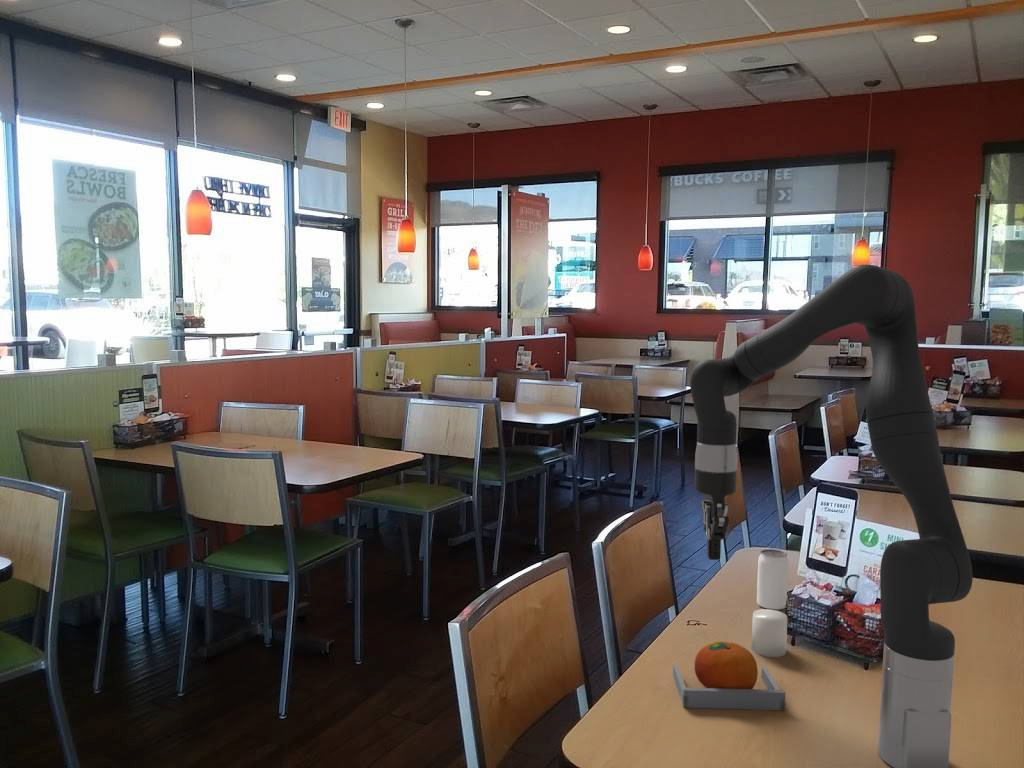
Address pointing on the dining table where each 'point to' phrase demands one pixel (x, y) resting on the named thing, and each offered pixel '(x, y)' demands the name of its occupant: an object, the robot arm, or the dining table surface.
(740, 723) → the dining table surface
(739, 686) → the fruit
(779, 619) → the white rounded cube
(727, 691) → the grey u-shaped bracket
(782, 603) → the can
